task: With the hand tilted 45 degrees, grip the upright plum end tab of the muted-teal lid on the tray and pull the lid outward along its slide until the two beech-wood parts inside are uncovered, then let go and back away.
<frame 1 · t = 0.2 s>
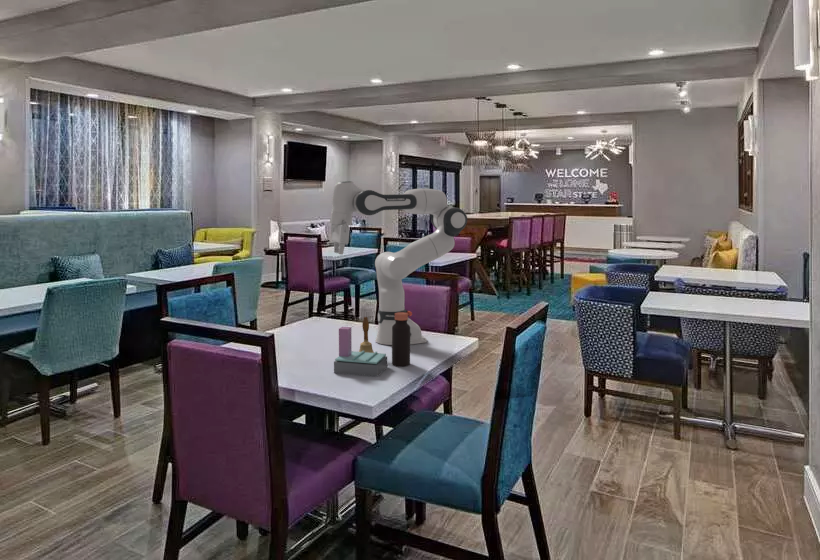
hand: (338, 253, 240), 39 cm above the table, tool pointing down, fingers open, 8 cm apart
hand bell: (366, 357, 228), on the table
tray: (361, 372, 207), on the table
lid: (360, 343, 206), point 10 cm above the table, slide at 0.0 cm
bottle: (400, 366, 215), on the table
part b: (353, 371, 206), point 1 cm above the table, touching tray
part a: (370, 369, 208), point 1 cm above the table, touching tray
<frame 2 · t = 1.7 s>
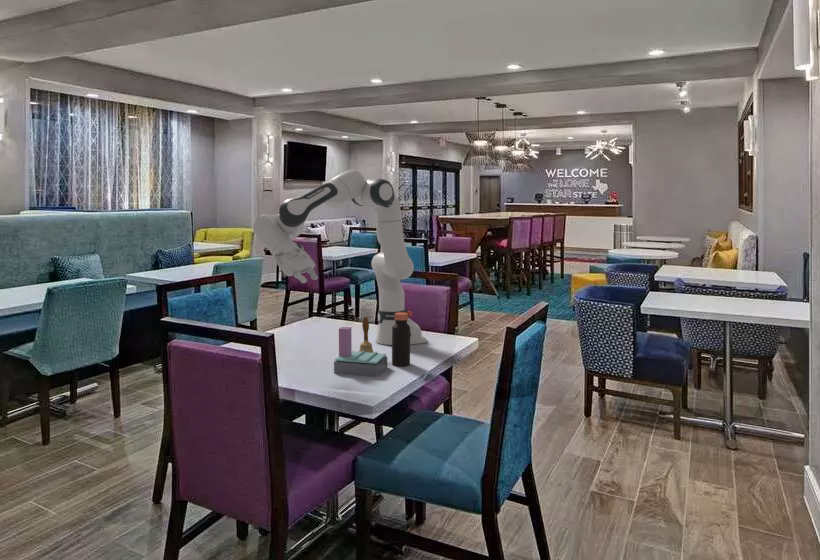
hand: (310, 280, 210), 32 cm above the table, tool tilted 45°, fingers open, 8 cm apart
nothing on the table moved.
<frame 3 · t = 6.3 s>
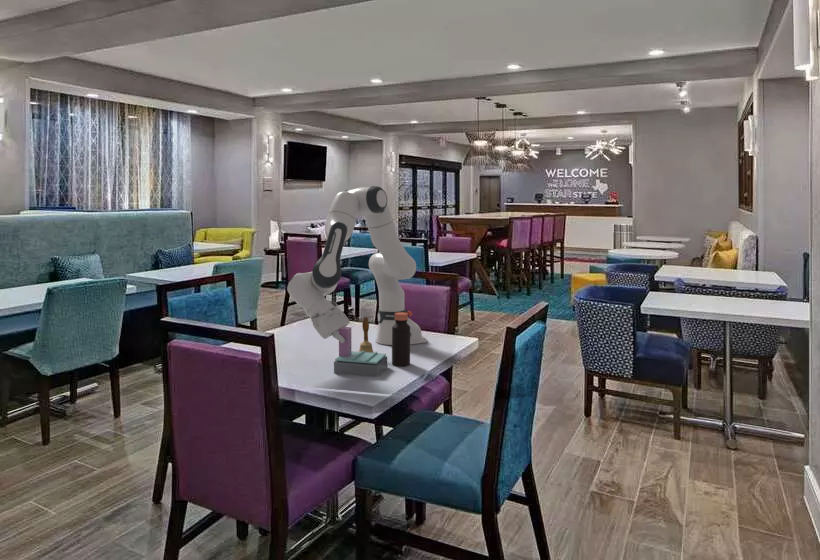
hand: (346, 340, 207), 11 cm above the table, tool tilted 45°, fingers closed on lid, 3 cm apart
lid: (360, 343, 206), point 10 cm above the table, slide at 0.0 cm, touching gripper
everything else where it was.
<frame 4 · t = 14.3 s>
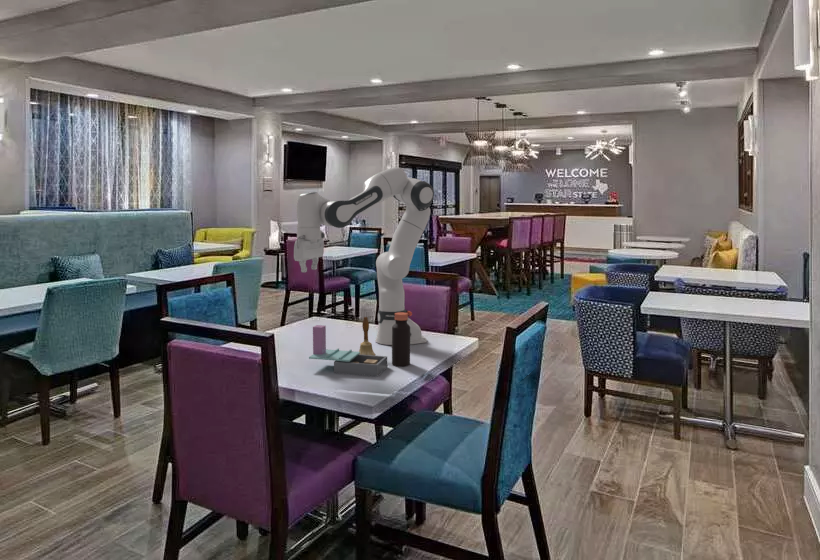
hand: (309, 270, 223), 34 cm above the table, tool pointing down, fingers open, 8 cm apart
lid: (334, 341, 208), point 10 cm above the table, slide at 9.9 cm
everything else where it was.
at the end: lid slide at 9.9 cm; the gripper is holding nothing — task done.
